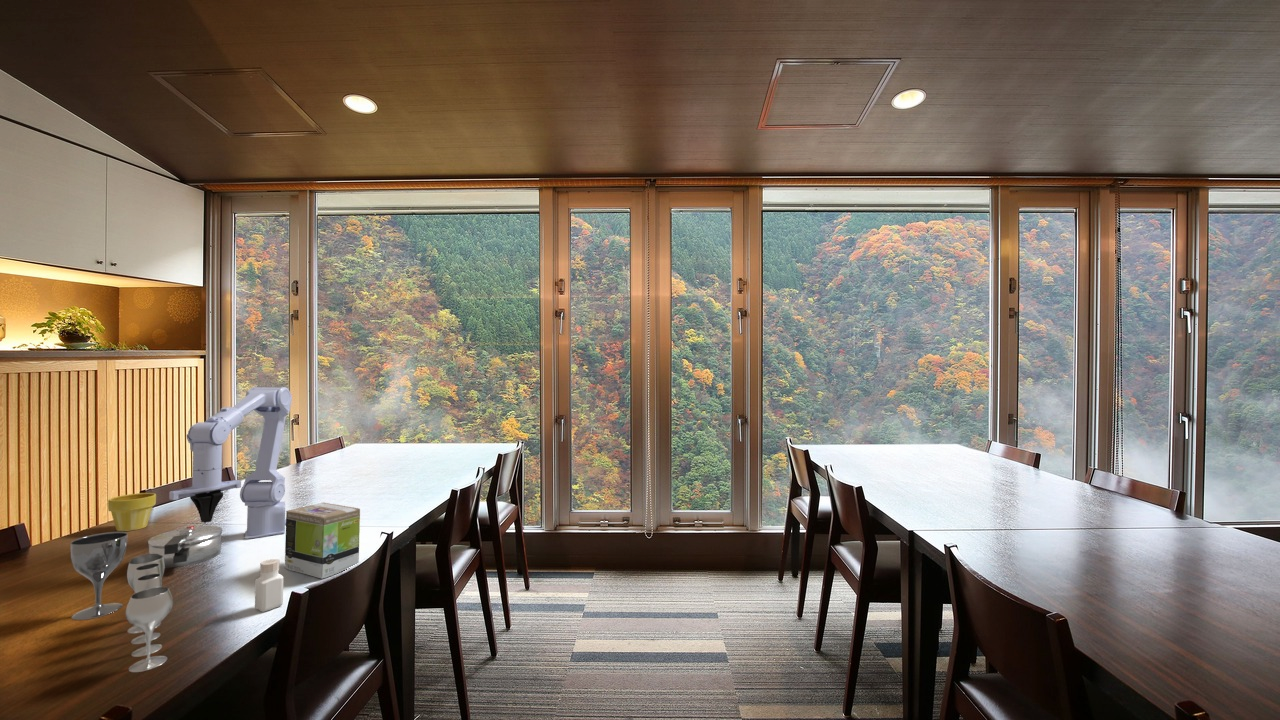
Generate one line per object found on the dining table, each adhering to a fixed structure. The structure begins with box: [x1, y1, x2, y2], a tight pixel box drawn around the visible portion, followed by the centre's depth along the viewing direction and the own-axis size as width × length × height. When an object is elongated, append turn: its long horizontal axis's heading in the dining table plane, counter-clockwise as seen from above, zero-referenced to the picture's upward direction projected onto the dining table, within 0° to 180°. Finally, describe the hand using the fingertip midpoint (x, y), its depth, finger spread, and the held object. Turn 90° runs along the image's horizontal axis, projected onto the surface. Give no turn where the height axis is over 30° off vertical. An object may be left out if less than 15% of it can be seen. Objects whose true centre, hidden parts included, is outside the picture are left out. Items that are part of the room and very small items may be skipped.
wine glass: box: [70, 531, 128, 621], centre depth 103 cm, size 8×8×15 cm
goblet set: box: [125, 553, 174, 673], centre depth 93 cm, size 28×6×13 cm, turn 46°
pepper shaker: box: [254, 558, 284, 613], centre depth 105 cm, size 4×4×10 cm
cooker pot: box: [148, 534, 222, 569], centre depth 129 cm, size 20×14×5 cm
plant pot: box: [107, 492, 157, 532], centre depth 155 cm, size 10×10×10 cm
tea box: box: [284, 502, 361, 580], centre depth 126 cm, size 15×10×15 cm
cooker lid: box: [147, 525, 223, 555], centre depth 129 cm, size 20×14×2 cm
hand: (206, 521), depth 129 cm, fingers closed
